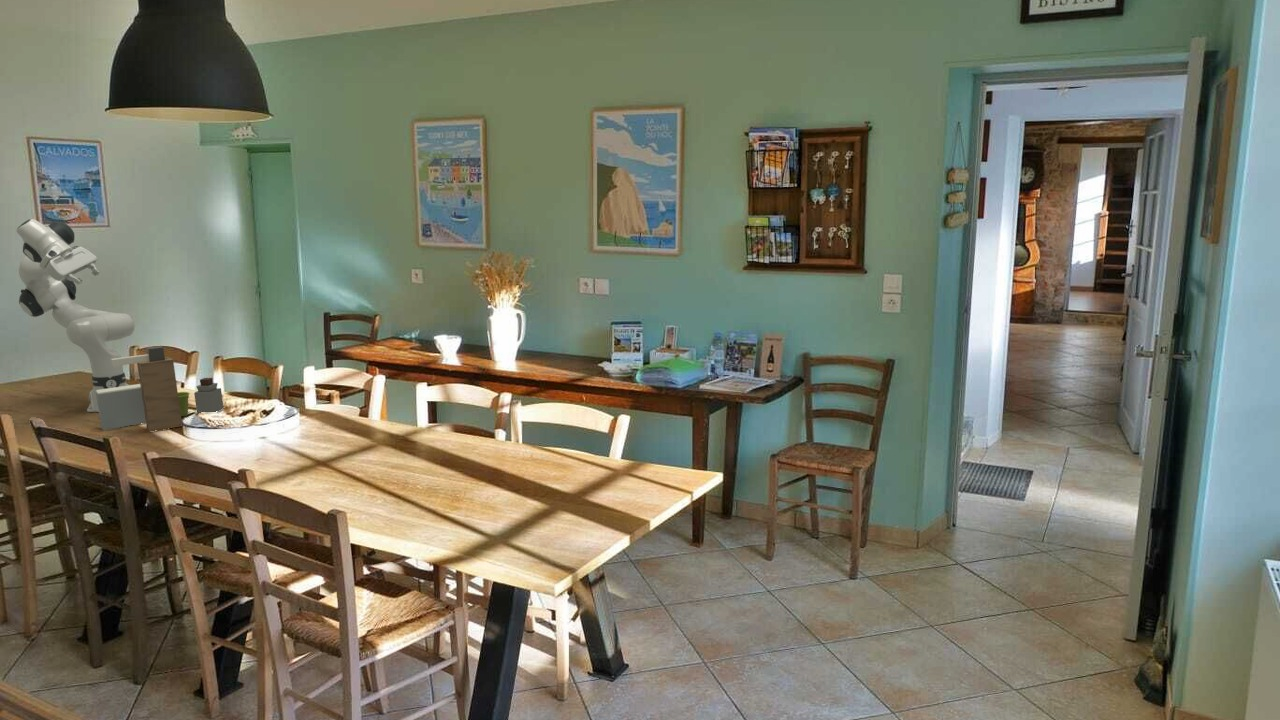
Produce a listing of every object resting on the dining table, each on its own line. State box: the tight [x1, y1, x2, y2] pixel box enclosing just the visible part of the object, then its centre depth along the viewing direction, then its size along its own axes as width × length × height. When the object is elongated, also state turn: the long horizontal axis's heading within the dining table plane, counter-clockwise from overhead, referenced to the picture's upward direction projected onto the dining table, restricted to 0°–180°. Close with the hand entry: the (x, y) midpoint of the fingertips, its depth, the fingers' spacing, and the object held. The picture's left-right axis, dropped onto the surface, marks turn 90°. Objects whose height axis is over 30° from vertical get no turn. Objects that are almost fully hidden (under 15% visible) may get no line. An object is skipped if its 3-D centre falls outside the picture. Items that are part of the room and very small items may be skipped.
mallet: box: [111, 345, 166, 366], centre depth 341 cm, size 17×5×5 cm, turn 126°
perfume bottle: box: [193, 377, 224, 416], centre depth 349 cm, size 7×7×18 cm
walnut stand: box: [136, 356, 183, 432], centre depth 347 cm, size 8×11×26 cm
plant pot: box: [178, 391, 191, 417], centre depth 366 cm, size 9×9×9 cm
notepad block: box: [96, 383, 146, 432], centre depth 354 cm, size 7×16×14 cm, turn 126°
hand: (89, 278), depth 353 cm, fingers open, 8 cm apart
